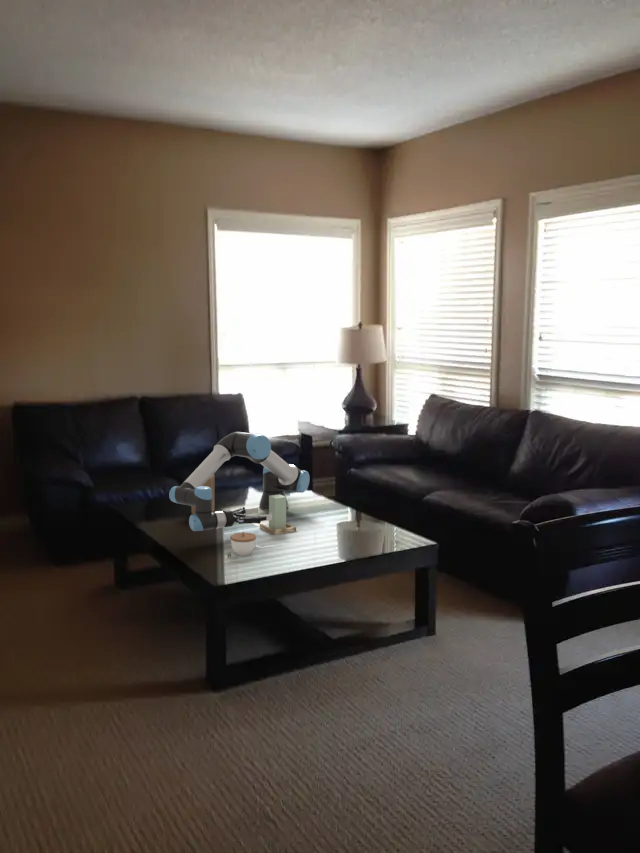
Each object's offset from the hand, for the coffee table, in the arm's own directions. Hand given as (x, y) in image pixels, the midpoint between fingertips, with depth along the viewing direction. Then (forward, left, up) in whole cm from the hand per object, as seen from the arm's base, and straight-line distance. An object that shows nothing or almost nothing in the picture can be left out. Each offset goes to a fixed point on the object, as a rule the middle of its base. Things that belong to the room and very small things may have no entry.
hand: (264, 513), depth 350 cm
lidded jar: (+23, +24, -10) cm, 34 cm away
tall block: (-7, 0, -9) cm, 11 cm away
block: (+11, -46, -10) cm, 49 cm away
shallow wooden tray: (-7, 0, -9) cm, 12 cm away
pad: (-7, -15, -9) cm, 19 cm away
